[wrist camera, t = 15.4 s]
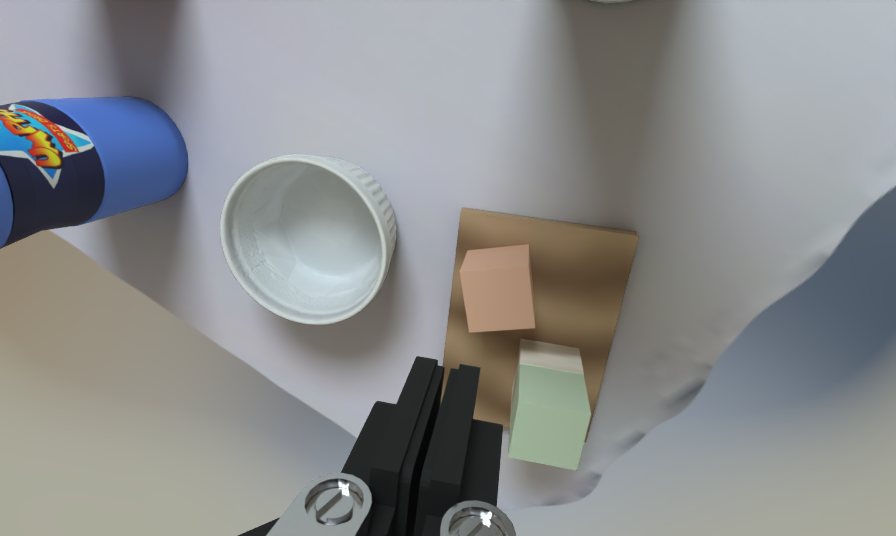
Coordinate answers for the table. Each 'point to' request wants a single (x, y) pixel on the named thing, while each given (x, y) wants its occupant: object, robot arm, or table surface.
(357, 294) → the ramekin
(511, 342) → the build board
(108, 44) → the table surface
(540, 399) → the green block
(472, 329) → the terracotta block
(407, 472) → the robot arm
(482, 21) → the table surface
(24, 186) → the water bottle
